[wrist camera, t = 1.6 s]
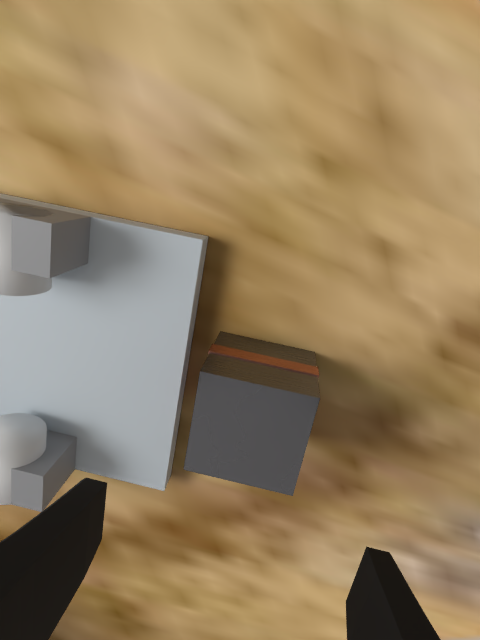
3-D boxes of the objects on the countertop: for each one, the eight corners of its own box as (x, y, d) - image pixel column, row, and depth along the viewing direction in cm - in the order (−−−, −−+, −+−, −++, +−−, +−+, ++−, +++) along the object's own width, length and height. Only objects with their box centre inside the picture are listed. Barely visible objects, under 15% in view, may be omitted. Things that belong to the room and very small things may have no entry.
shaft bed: (170, 475, 23) (142, 541, 18) (-72, 416, 23) (-150, 467, 19) (208, 236, 18) (183, 252, 14) (-90, 174, 19) (-196, 173, 15)
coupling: (294, 433, 21) (293, 497, 17) (204, 413, 21) (182, 470, 17) (316, 350, 19) (321, 397, 15) (219, 329, 20) (198, 369, 16)
